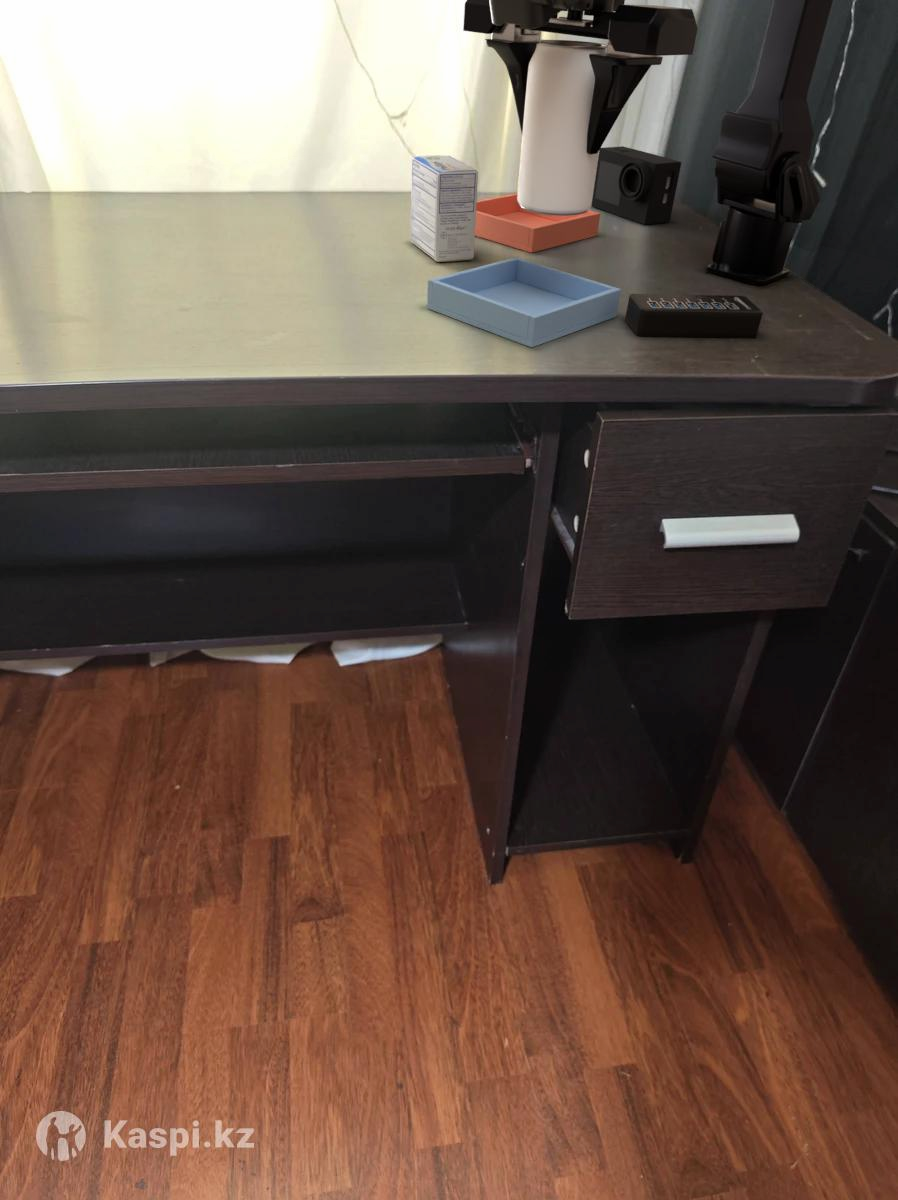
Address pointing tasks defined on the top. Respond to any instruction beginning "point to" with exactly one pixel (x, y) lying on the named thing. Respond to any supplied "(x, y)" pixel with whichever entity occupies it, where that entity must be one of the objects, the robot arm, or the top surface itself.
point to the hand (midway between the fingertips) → (559, 146)
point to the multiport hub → (693, 316)
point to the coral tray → (530, 225)
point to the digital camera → (635, 184)
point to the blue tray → (523, 300)
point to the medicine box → (443, 207)
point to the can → (558, 129)
